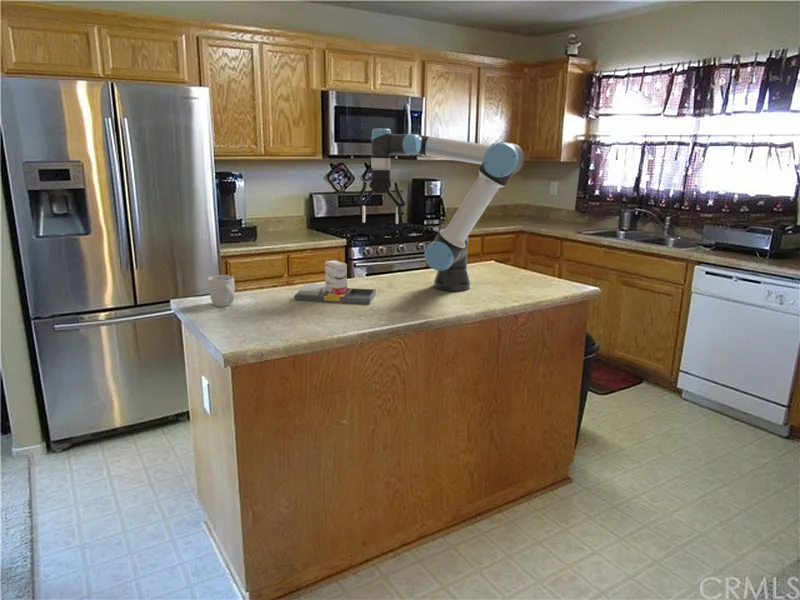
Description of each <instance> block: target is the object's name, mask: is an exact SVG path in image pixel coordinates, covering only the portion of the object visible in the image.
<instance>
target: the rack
mask: <svg viewBox="0 0 800 600" xmlns="http://www.w3.org/2000/svg"><path fill="white" fill-rule="evenodd" d="M376 291H377V290H376V289H372V288H353V287H350V288H349V287H347V293H346V294H341V295H335V294H333V293H330V292H328V291H326V289H325V290H324V291H323V293H322V294H321V295H320V296H314V295H299V291H298V292H296V293H295V295H294V301H297V302H298V301H299V302H316V303H317V302H319V303H336V304H337V303H338V304H339V303H340V304H355V305H357V304H358V305H370V304H371V303H372V301H373V300H374V299H375V296H376Z"/></svg>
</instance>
